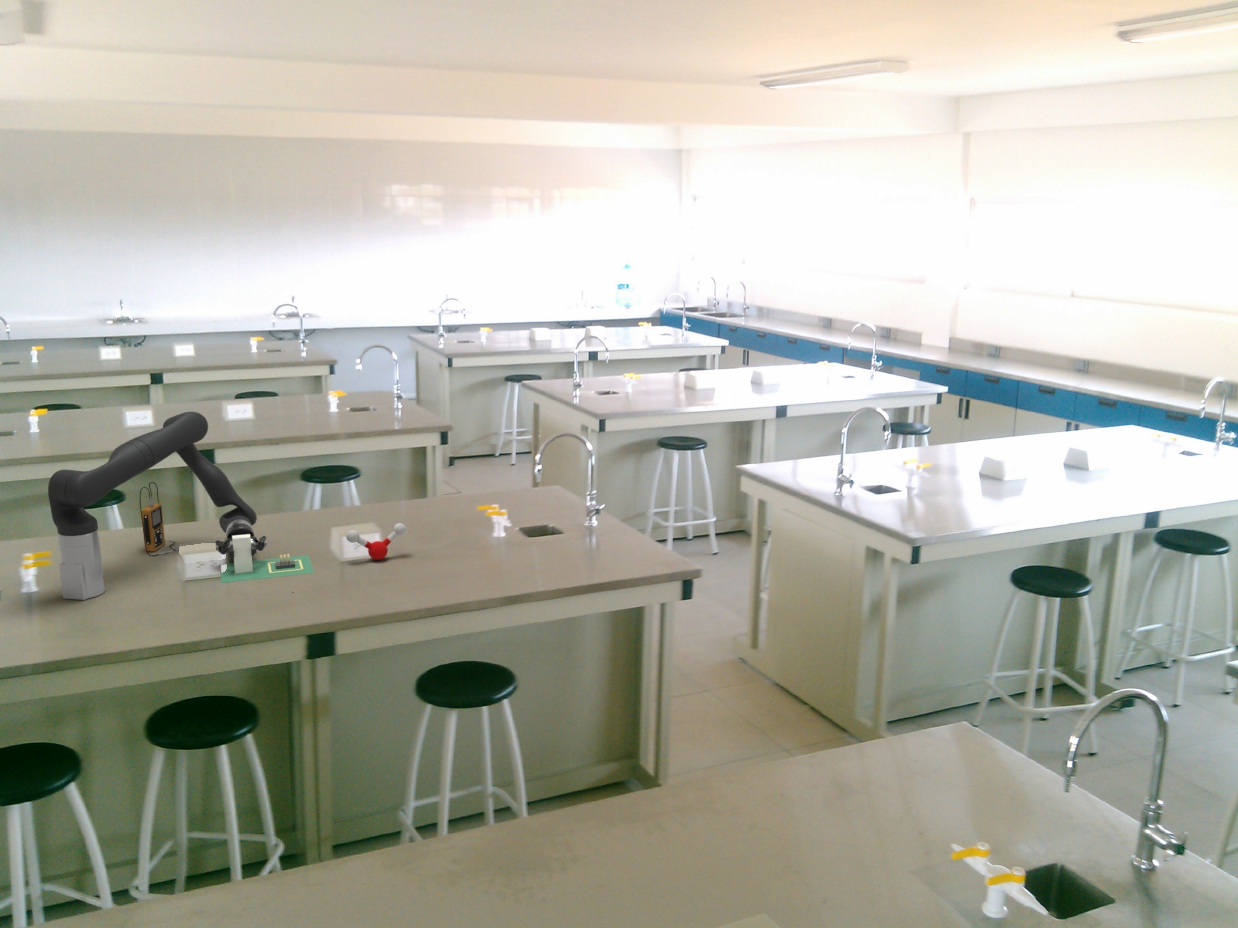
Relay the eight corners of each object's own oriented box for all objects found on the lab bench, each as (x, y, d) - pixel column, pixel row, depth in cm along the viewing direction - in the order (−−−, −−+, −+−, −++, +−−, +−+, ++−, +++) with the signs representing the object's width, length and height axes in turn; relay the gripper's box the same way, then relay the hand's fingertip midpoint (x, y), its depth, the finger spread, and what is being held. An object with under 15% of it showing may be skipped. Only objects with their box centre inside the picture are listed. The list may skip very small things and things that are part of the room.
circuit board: (221, 588, 268) (221, 582, 267) (220, 569, 282) (219, 563, 282) (314, 577, 277) (314, 572, 276) (308, 559, 291) (308, 554, 291)
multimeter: (172, 557, 292) (166, 491, 287) (138, 556, 292) (132, 490, 287) (194, 541, 306) (189, 478, 301) (162, 540, 306) (156, 477, 301)
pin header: (295, 567, 280) (294, 555, 280) (276, 569, 279) (275, 557, 278) (294, 563, 283) (293, 551, 283) (275, 565, 282) (274, 553, 281)
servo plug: (252, 571, 276) (250, 537, 274) (235, 573, 275) (232, 538, 272) (252, 568, 279) (249, 534, 277) (234, 569, 277) (232, 535, 275)
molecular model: (404, 552, 299) (403, 520, 297) (410, 557, 295) (409, 525, 292) (345, 561, 291) (343, 528, 288) (350, 566, 286) (349, 533, 284)
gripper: (212, 525, 285) (213, 542, 269) (265, 520, 290) (269, 537, 275) (214, 550, 286) (215, 569, 271) (267, 545, 292) (271, 563, 277)
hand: (242, 553), depth 273 cm, fingers closed on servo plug, 4 cm apart
